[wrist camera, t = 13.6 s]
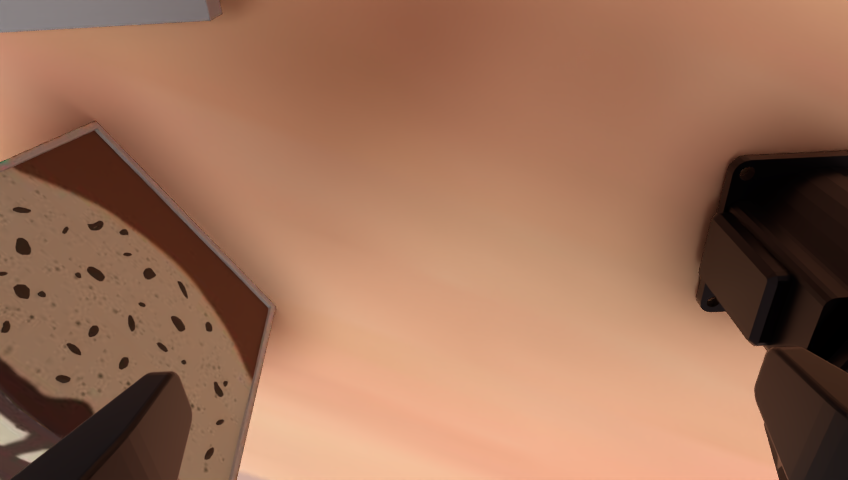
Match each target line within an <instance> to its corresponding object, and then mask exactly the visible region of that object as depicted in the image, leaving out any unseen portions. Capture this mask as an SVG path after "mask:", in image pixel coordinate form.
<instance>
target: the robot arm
mask: <svg viewBox="0 0 848 480" xmlns="http://www.w3.org/2000/svg"><path fill="white" fill-rule="evenodd" d="M746 167H749V170H748V172H747V173H745V174H744V175H741V176H740V173H741V171H742V170H743V169H744V168H746ZM699 275H700V276H701V279H700V283H699V288H698V292H697V296H696V300H697V302H698V303H699V305H700V306H701V308H702V309H703V310H704V311H707V312H723V311H726V312H727V313H728V315H729V316H730V317H731V319H732V320H733V321H734V323H735V324H736V326H737V327H738V328H739V330H740V331H741V332H742V334H743V335H744V337H745V338H746V339H747V340H748V341H749V342H750V343H751V344H752V345H753V346H764V347H765V349H766V350H767V353H766V355H765V358H764V360H763V363H762V366H761V369H760V372H759V375H758V378H757V381H756V384H755V390H754V392H755V399H756V402H757V405H758V408H759V410H760V413H761V415H762V417H763V420H764V422H765V423H764V426H765V430H766V434H767V437H768V441H769V445H770V448H771V452H772V455H773V459H774V463H775V466H776V470H777V473H778V477H779V480H848V151H828V152H808V153H787V154H766V155H746V156H741V157H738V158H736V159H735V160H733V161H732V162H731V163H730V165H729V167H728V169H727V172H726V177H725V181H724V185H723V189H722V193H721V197H720V201H719V205H718V209H717V213H716V214H715V215H714V216H713V218H712V219H711V222H710V227H709V231H708V235H707V239H706V243H705V247H704V252H703V256H702V260H701V264H700V268H699ZM711 297H715V298H714V299H712V300H710V301H708V299H710V298H711ZM191 423H192V409H191V405H190V403H189V400H188V397H187V395H186V392H185V389H184V387H183V384H182V381H181V379H180V377H179V375H178V374H177V373H176V372H173V371H162V372H150V373H147V374H146V375H144V376H143V377H141V378H140V379H139V380H137V381H136V382H135V383H134V384H132V385H131V386H130V387H128V388H127V389H126V390H124V391H123V392H122V393H121V394H119V395H118V396H117V397H115V398H114V399H113V400H112V401H110V402H109V403H108V404H106V405H105V406H104V407H103V408H101V409H100V410H99V411H97V412H96V413H95V414H93V415H92V416H91V417H90V418H88V419H87V420H86V421H84V422H83V423H82V424H81V425H79V426H78V427H77V428H75V429H74V430H73V431H72V432H70V433H69V434H68V435H66V436H65V437H64V438H63V439H61V440H60V441H59V442H57V443H56V444H55V445H53V446H52V447H51V448H50V449H48V450H47V451H46V452H44V453H43V454H42V455H41V456H39V457H38V458H37V459H35V460H34V461H33V462H32V463H30V464H29V465H28V466H26V467H25V468H24V469H22V470H21V471H20V472H19V473H17V474H16V475H15V476H13V477H12V478H11V479H10V480H178V477H179V473H180V469H181V464H182V460H183V456H184V452H185V448H186V444H187V440H188V436H189V432H190V428H191Z"/></svg>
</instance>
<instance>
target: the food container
mask: <svg viewBox="0 0 848 480" xmlns="http://www.w3.org/2000/svg"><path fill="white" fill-rule="evenodd" d="M275 309H276V306H275V305H274V304H273V303H272V302H271V301H270V300H269V299H268V298H267V297H266V296H265V295H264V294H263V293H262V292H261V291H260V290H259V289H258V288H257V287H256V286H255V285H254V284H253V282H252V281H251V280H250V279H249V278H248V277H247V276H246V275H245V274H244V273H243V272H242V271H241V270H240V269H239V268H238V267H237V266H236V265H235V264H234V263H233V262H232V261H231V260H230V259H229V258H228V257H227V256H226V255H225V254H224V253H223V252H222V251H221V250H220V248H219V247H218V246H217V245H216V244H215V243H214V242H213V241H212V240H211V239H210V238H209V237H208V236H207V235H206V234H205V233H204V232H203V231H202V230H201V229H200V228H199V227H198V226H197V225H196V224H195V223H194V222H193V221H192V220H191V219H190V218H189V217H188V216H187V214H186V213H185V212H184V211H183V210H182V209H181V208H180V207H179V206H178V205H177V204H176V203H175V202H174V201H173V200H172V199H171V198H170V197H169V196H168V195H167V194H166V193H165V192H164V191H163V190H162V189H161V188H160V187H159V186H158V185H157V184H156V183H155V182H154V181H153V179H152V178H151V177H150V176H149V175H148V174H147V173H146V172H145V171H144V170H143V169H142V168H141V167H140V166H139V165H138V164H137V163H136V162H135V161H134V160H133V159H132V158H131V157H130V156H129V155H128V154H127V153H126V152H125V151H124V150H123V149H122V148H121V147H120V145H119V144H118V143H117V142H116V141H115V140H114V139H113V138H112V137H111V136H110V135H109V134H108V133H107V132H106V131H105V130H104V129H103V128H102V127H101V126H100V125H99V124H98V123H97V122H96V121H94V122H92V123H89V124H87V125H85V126H82V127H80V128H78V129H76V130H73V131H71V132H69V133H66V134H64V135H62V136H59V137H57V138H55V139H53V140H50V141H48V142H46V143H43V144H41V145H39V146H36V147H34V148H32V149H29V150H27V151H25V152H23V153H20V154H18V155H16V156H13V157H11V158H9V159H6V160H4V161H2V162H0V480H10V479H11V478H12V477H13V476H15V475H16V474H17V473H19V472H20V471H21V470H22V469H24V468H25V467H26V466H28V465H29V464H30V463H32V462H33V461H34V460H35V459H37V458H38V457H39V456H41V455H42V454H43V453H44V452H46V451H47V450H48V449H50V448H51V447H52V446H53V445H55V444H56V443H57V442H59V441H60V440H61V439H63V438H64V437H65V436H66V435H68V434H69V433H70V432H72V431H73V430H74V429H75V428H77V427H78V426H79V425H81V424H82V423H83V422H84V421H86V420H87V419H88V418H90V417H91V416H92V415H93V414H95V413H96V412H97V411H99V410H100V409H101V408H103V407H104V406H105V405H106V404H108V403H109V402H110V401H112V400H113V399H114V398H115V397H117V396H118V395H119V394H121V393H122V392H123V391H124V390H126V389H127V388H128V387H130V386H131V385H132V384H134V383H135V382H136V381H137V380H139V379H140V378H141V377H143V376H144V375H146V374H147V373H150V372H162V371H173V372H176V373H177V374H178V375H179V377H180V379H181V381H182V384H183V387H184V389H185V392H186V395H187V397H188V400H189V403H190V405H191V409H192V423H191V428H190V432H189V436H188V440H187V444H186V448H185V452H184V456H183V460H182V464H181V469H180V473H179V477H178V480H237V476H238V472H239V467H240V463H241V458H242V454H243V450H244V445H245V441H246V436H247V432H248V428H249V423H250V419H251V414H252V410H253V406H254V401H255V397H256V392H257V388H258V384H259V379H260V375H261V370H262V366H263V362H264V357H265V353H266V348H267V344H268V340H269V335H270V331H271V326H272V322H273V317H274V313H275Z"/></svg>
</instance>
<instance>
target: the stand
mask: <svg viewBox="0 0 848 480" xmlns="http://www.w3.org/2000/svg"><path fill="white" fill-rule="evenodd" d="M221 14H222V10H221V5H220V1H219V0H0V32H18V31H35V30H53V29H71V28H88V27H106V26H124V25H141V24H159V23H176V22H194V21H211V20H212V19H214V18H216V17H218V16H219V15H221Z"/></svg>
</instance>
